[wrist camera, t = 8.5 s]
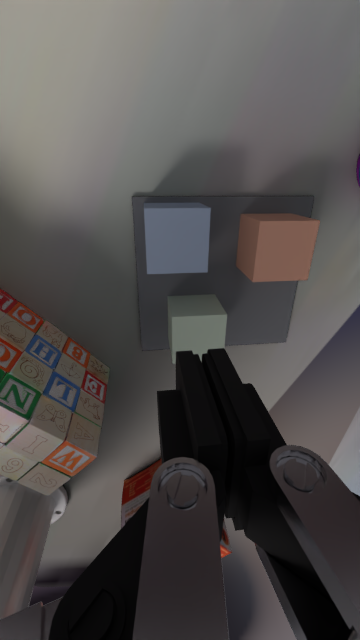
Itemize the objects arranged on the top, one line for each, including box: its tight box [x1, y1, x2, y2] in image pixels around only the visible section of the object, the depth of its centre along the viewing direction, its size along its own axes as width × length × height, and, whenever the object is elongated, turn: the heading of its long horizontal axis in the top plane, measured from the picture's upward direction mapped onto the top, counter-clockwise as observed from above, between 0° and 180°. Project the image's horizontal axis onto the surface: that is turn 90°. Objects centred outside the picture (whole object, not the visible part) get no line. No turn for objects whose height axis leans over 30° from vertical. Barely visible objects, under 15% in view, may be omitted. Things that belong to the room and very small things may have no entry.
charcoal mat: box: [132, 196, 314, 351], centre depth 30 cm, size 16×17×1 cm
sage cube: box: [168, 294, 227, 364], centre depth 29 cm, size 5×5×5 cm
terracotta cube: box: [236, 213, 320, 282], centre depth 26 cm, size 5×5×5 cm
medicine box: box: [121, 459, 232, 558], centre depth 42 cm, size 15×8×8 cm, turn 37°
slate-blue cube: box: [144, 203, 211, 274], centre depth 25 cm, size 5×5×5 cm
